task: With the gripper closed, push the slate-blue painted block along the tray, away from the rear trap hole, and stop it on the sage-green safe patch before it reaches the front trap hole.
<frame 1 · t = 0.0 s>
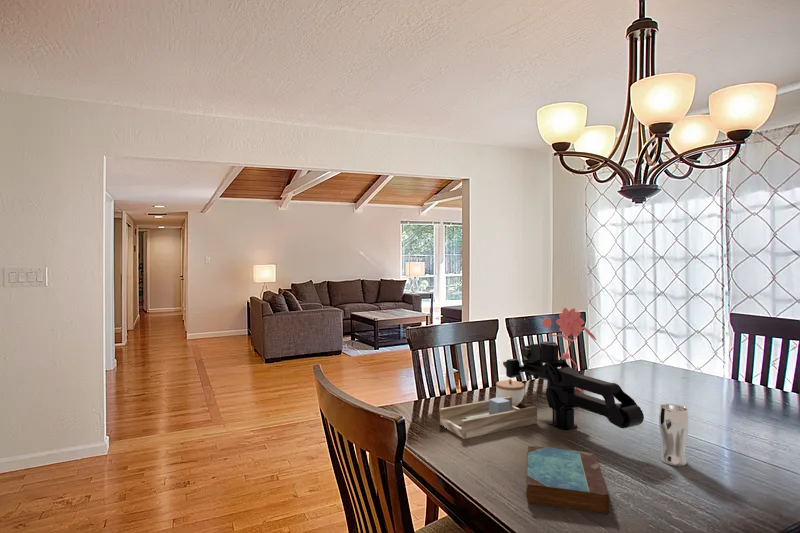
hand: (513, 361, 179), 17 cm above the table, tool horizontal, fingers open, 9 cm apart
pink branch: (570, 390, 199), on the table
lidded jar: (510, 404, 181), on the table
tray: (488, 423, 159), on the table
beer glass: (673, 462, 129), on the table
book: (563, 487, 116), on the table
block: (499, 414, 161), point 2 cm above the table, touching tray
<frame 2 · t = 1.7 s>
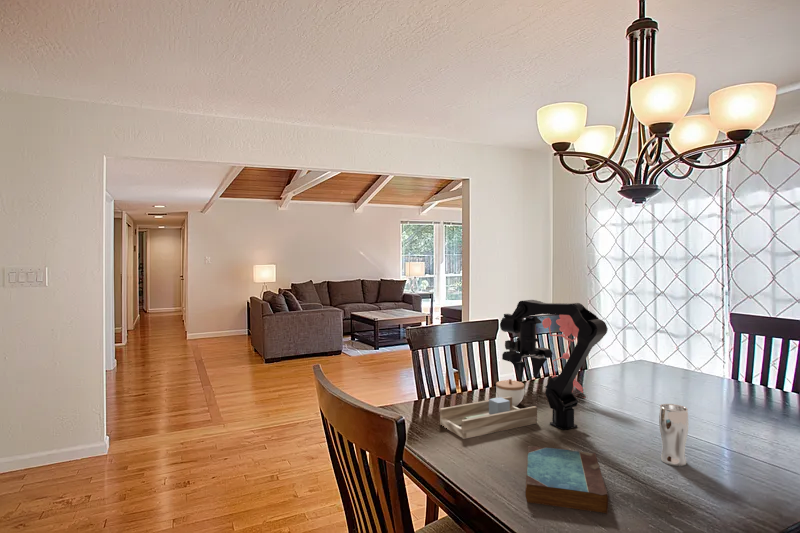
hand: (527, 378, 168), 13 cm above the table, tool pointing down, fingers open, 6 cm apart
nothing on the table moved.
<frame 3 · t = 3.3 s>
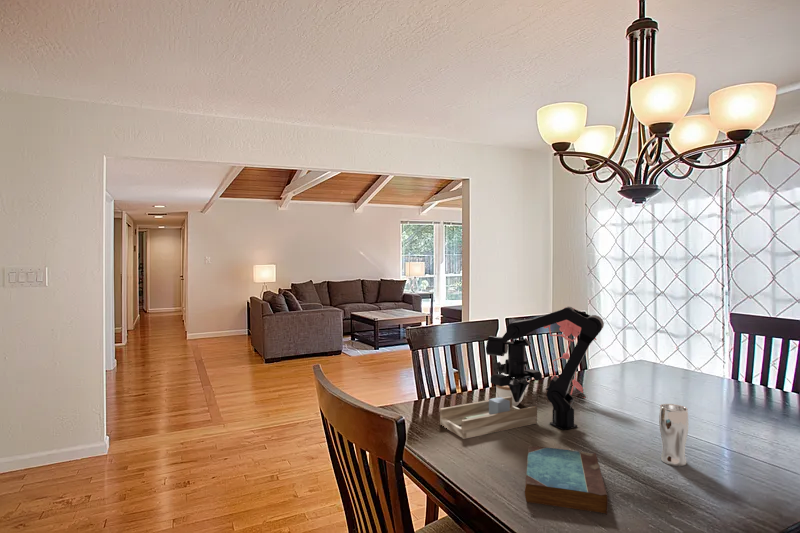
hand: (516, 401, 164), 6 cm above the table, tool pointing down, fingers closed
nothing on the table moved.
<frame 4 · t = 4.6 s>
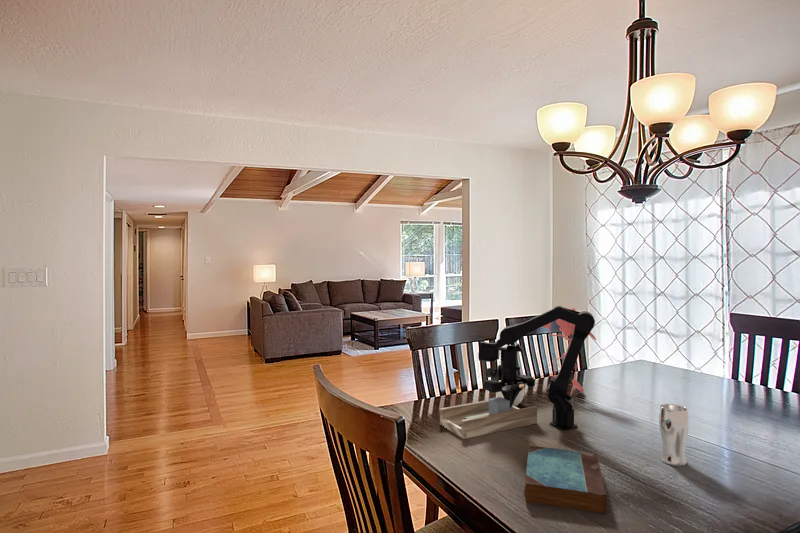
hand: (509, 407, 163), 4 cm above the table, tool pointing down, fingers closed
block: (499, 414, 161), point 3 cm above the table, touching gripper
everything else where it was.
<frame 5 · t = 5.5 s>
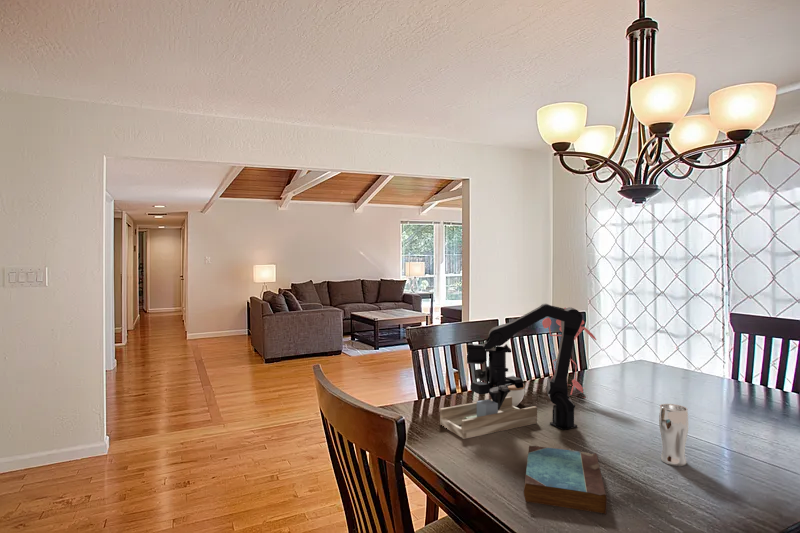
hand: (497, 409, 161), 4 cm above the table, tool pointing down, fingers closed
block: (487, 416, 159), point 3 cm above the table, touching gripper, tray
everything else where it was.
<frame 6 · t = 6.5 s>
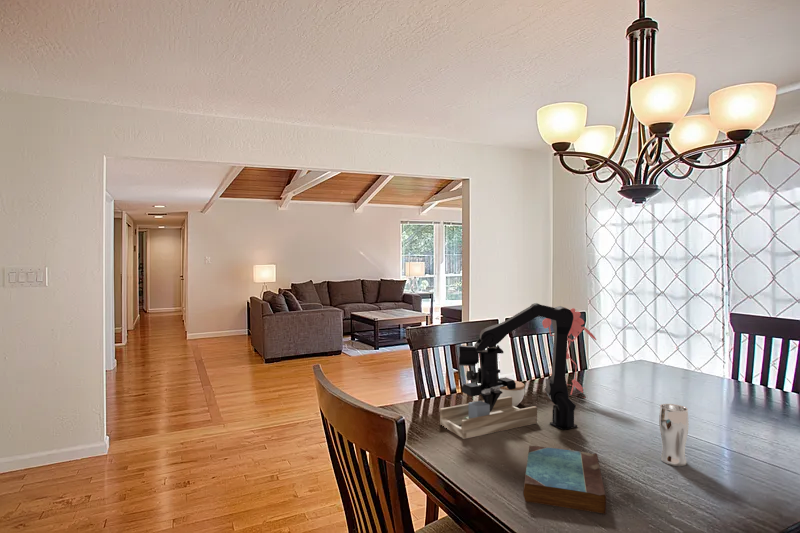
hand: (489, 411, 159), 4 cm above the table, tool pointing down, fingers closed
block: (479, 418, 157), point 2 cm above the table, touching gripper, tray
everything else where it was.
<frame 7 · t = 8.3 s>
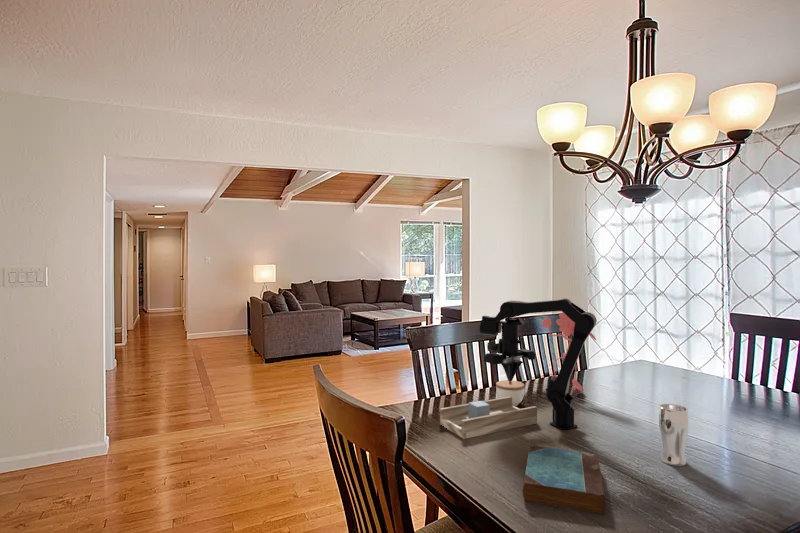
hand: (509, 380, 165), 13 cm above the table, tool pointing down, fingers closed
block: (479, 418, 157), point 2 cm above the table, touching tray
everything else where it was.
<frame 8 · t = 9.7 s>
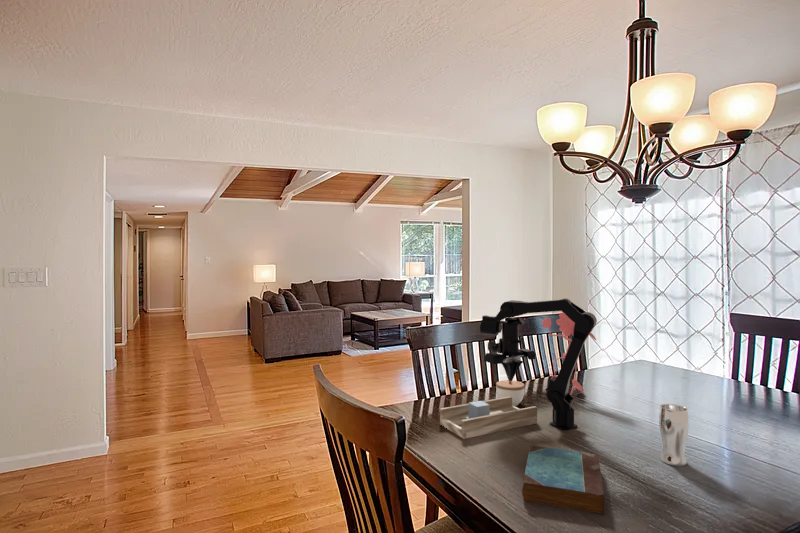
hand: (510, 380, 165), 13 cm above the table, tool pointing down, fingers closed
nothing on the table moved.
at the end: block inside the target area on the tray (0.3 cm from its centre), point 2.5 cm above the tray's base; block tilted 0°; block moved 8.5 cm from its start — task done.
